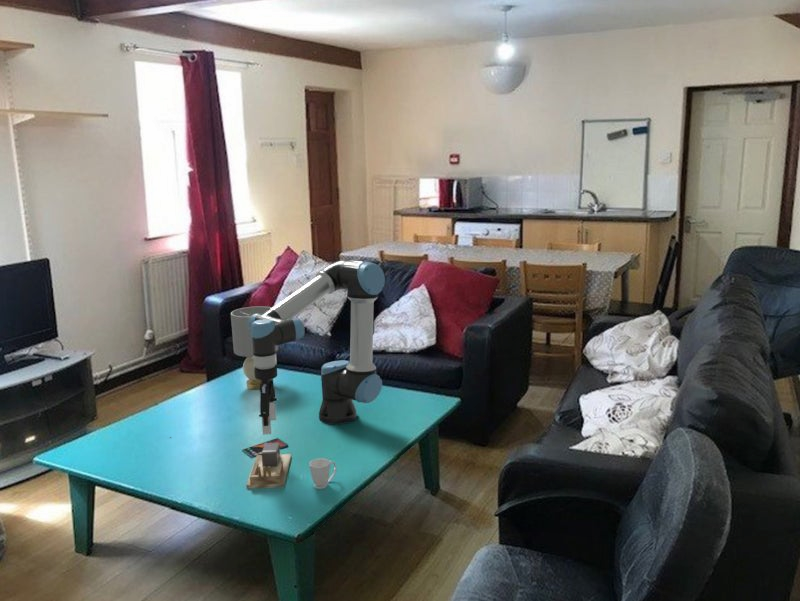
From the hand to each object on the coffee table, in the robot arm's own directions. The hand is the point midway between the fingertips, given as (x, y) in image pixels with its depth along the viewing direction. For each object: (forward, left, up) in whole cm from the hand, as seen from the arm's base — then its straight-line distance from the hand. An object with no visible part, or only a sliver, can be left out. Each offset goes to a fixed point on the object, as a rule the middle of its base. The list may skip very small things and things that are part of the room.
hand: (269, 426), depth 237 cm
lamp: (+17, -81, -14) cm, 84 cm away
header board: (0, +6, -14) cm, 15 cm away
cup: (-19, +16, -14) cm, 28 cm away
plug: (0, 0, -13) cm, 13 cm away
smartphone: (+4, -13, -15) cm, 20 cm away
